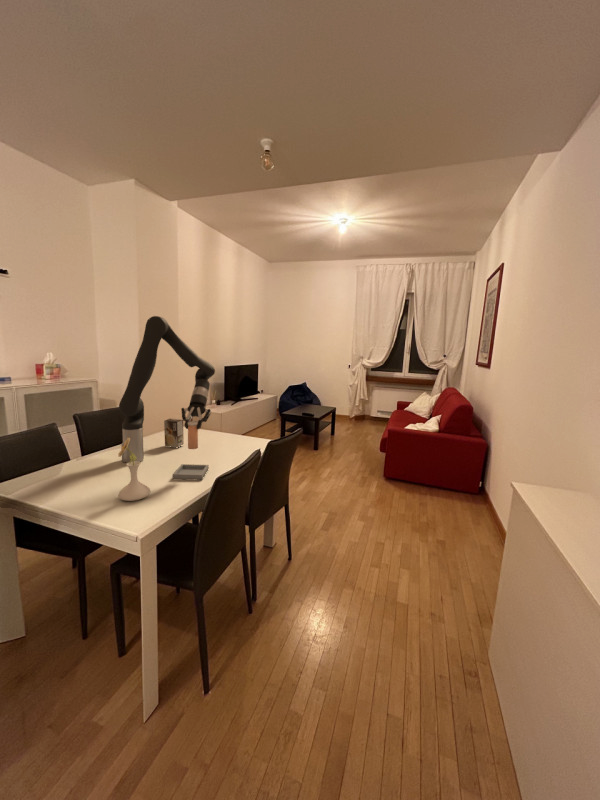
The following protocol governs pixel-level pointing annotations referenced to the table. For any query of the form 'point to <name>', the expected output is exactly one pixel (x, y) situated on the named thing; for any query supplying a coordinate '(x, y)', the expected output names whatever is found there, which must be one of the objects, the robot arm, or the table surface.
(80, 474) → the table surface
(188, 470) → the tray
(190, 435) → the shaker
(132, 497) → the flower in vase
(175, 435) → the coffee box
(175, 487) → the table surface
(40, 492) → the table surface
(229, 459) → the table surface
